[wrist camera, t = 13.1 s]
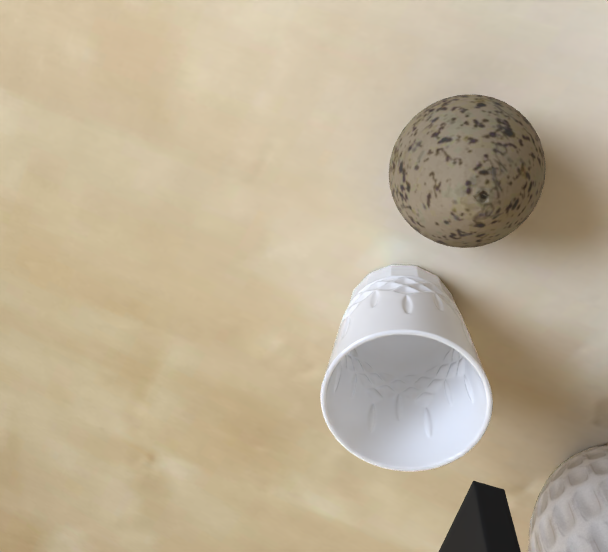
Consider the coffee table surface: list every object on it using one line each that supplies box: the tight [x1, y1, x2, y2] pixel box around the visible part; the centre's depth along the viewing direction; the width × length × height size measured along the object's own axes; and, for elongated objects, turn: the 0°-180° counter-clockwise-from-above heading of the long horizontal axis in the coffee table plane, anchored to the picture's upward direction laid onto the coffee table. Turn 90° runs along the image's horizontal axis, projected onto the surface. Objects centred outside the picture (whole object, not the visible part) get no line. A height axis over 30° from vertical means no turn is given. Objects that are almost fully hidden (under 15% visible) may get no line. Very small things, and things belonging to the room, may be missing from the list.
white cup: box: [321, 265, 493, 471], centre depth 29 cm, size 8×8×10 cm
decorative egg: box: [389, 95, 545, 248], centre depth 25 cm, size 7×7×10 cm
